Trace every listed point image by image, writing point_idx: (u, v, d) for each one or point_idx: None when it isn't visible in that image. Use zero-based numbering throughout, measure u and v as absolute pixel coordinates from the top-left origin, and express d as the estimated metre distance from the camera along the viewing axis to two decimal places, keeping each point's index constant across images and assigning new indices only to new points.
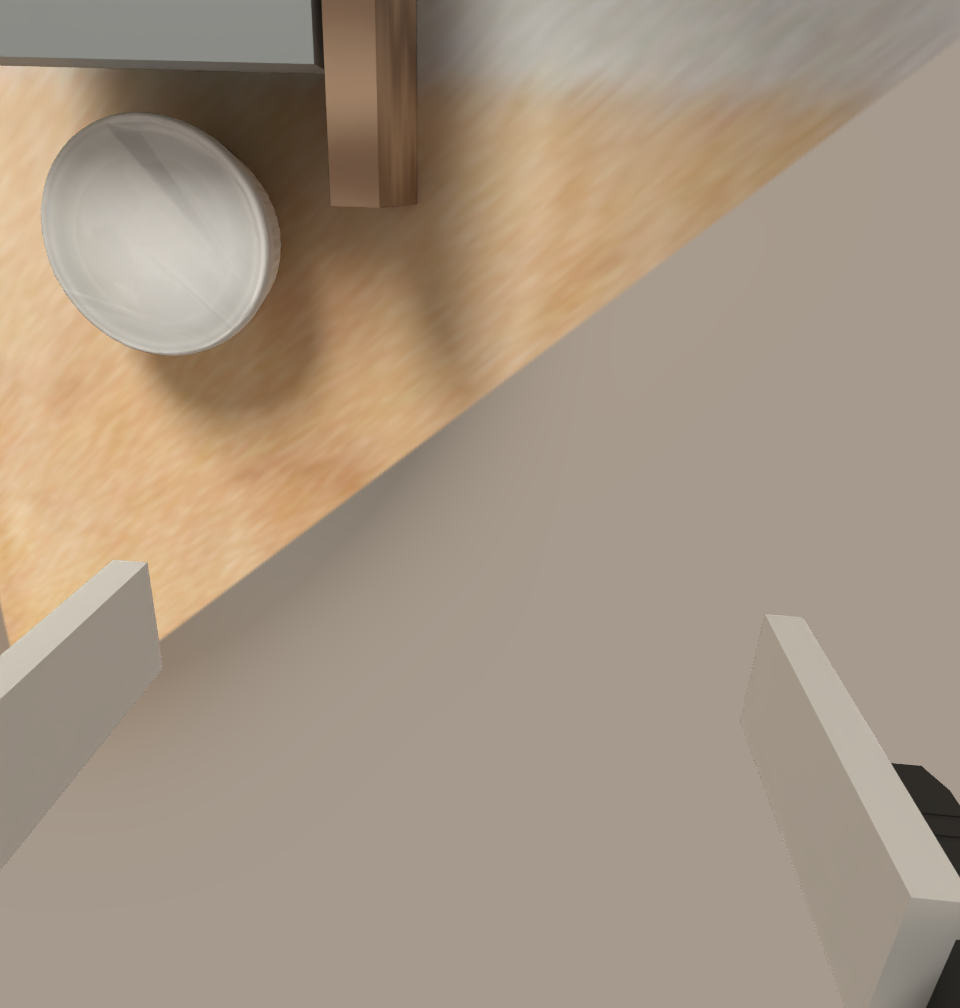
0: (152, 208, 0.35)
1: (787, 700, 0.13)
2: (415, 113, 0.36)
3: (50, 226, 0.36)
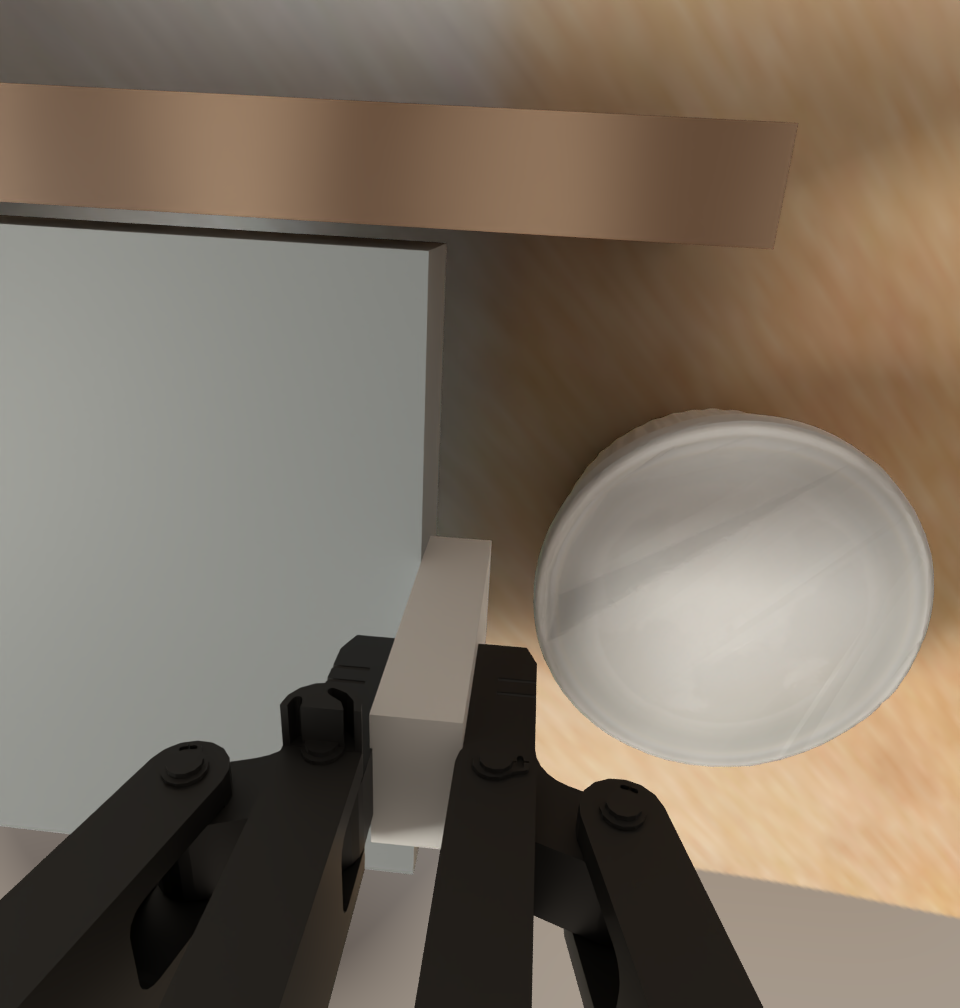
0: (676, 604, 0.21)
1: None
2: None
3: (682, 751, 0.23)
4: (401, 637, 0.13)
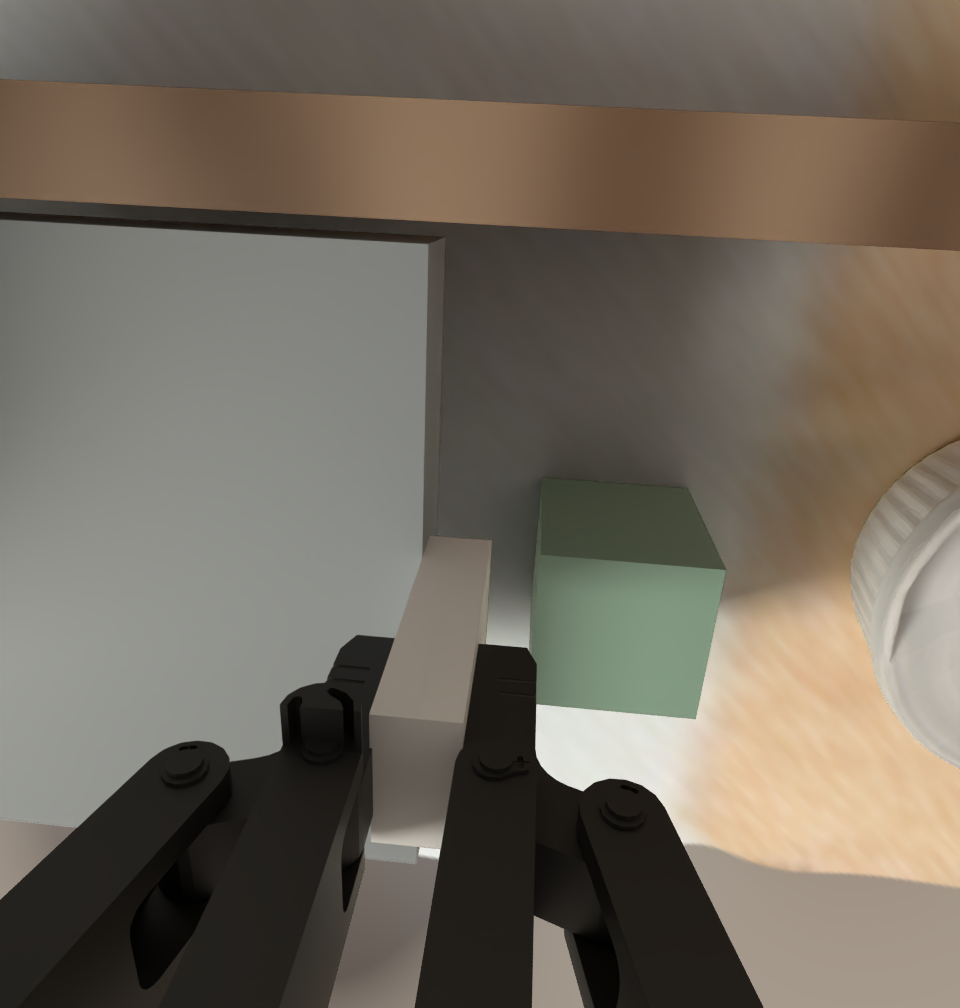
0: None
1: None
2: None
3: None
4: (401, 637, 0.13)
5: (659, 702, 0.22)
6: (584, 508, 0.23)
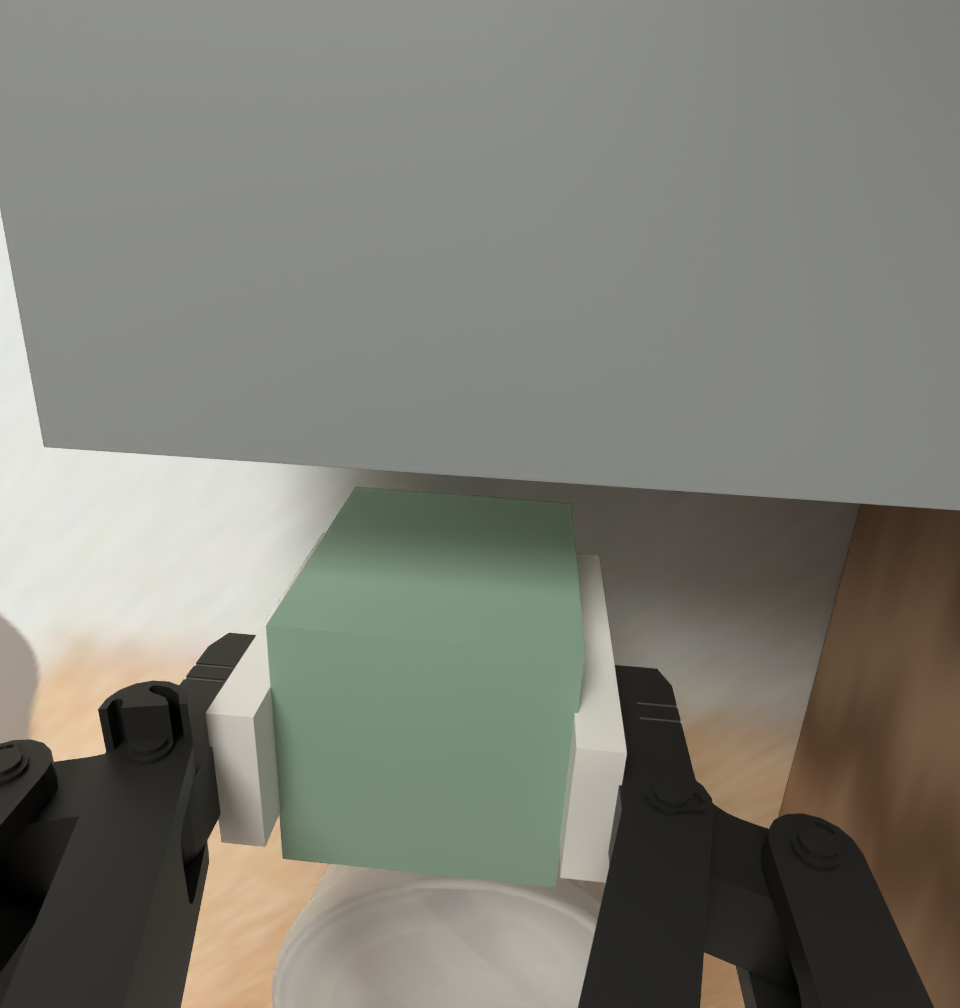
0: (466, 985, 0.21)
1: None
2: None
3: (288, 992, 0.22)
4: (262, 635, 0.13)
5: (305, 815, 0.13)
6: None
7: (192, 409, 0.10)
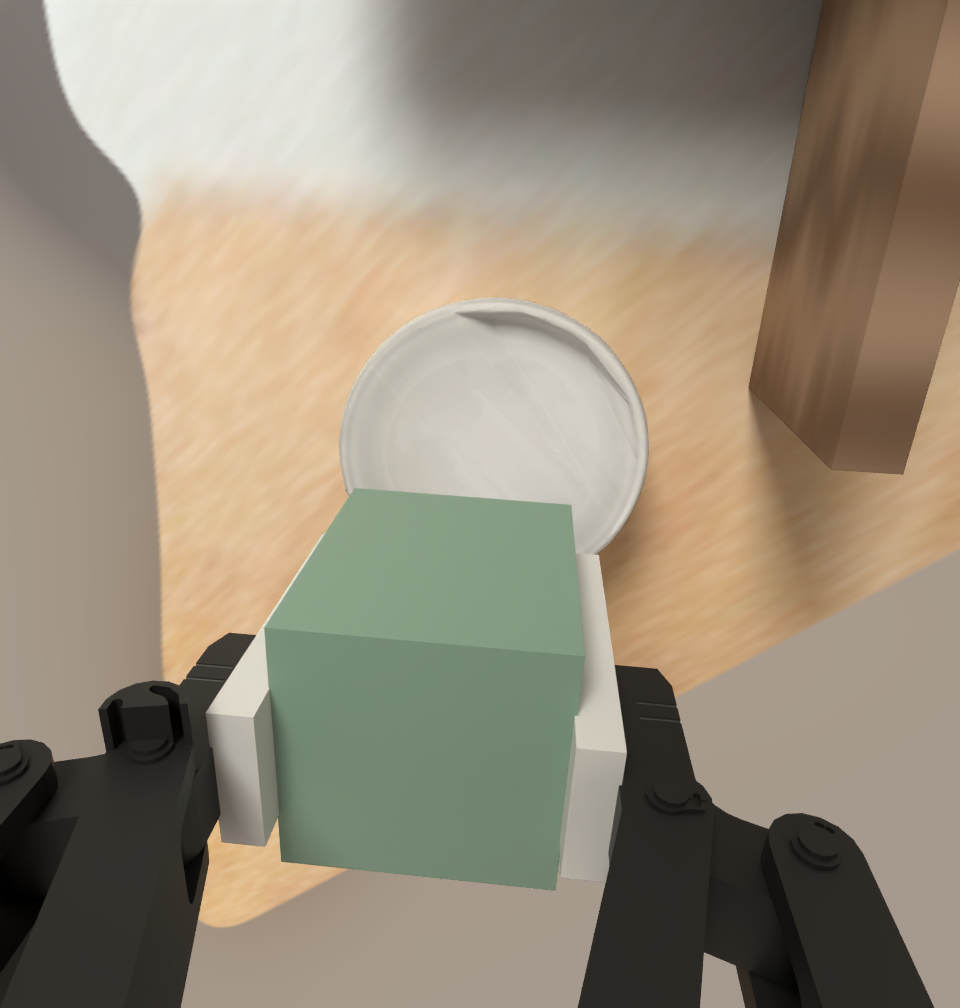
0: (498, 419, 0.26)
1: None
2: None
3: (353, 436, 0.27)
4: (262, 635, 0.13)
5: (303, 817, 0.13)
6: None
7: None
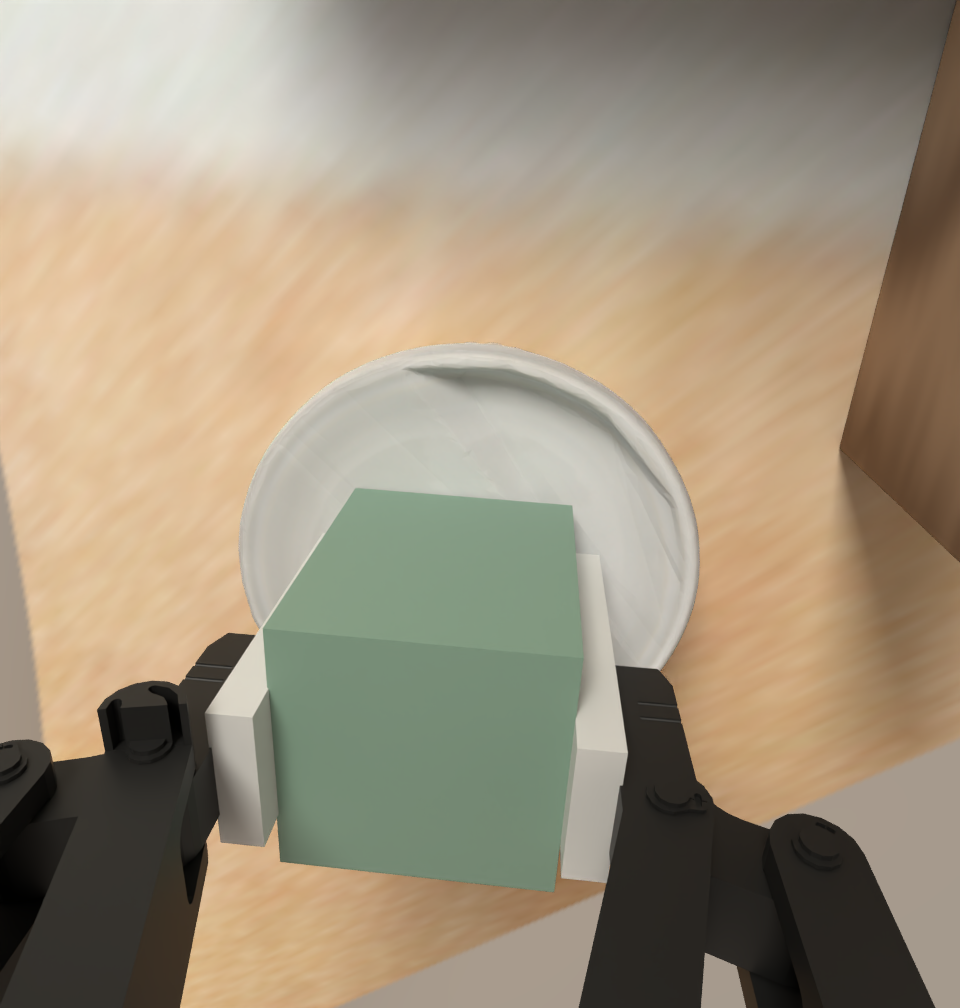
0: None
1: None
2: None
3: (258, 544, 0.18)
4: (261, 635, 0.13)
5: (302, 818, 0.13)
6: None
7: None
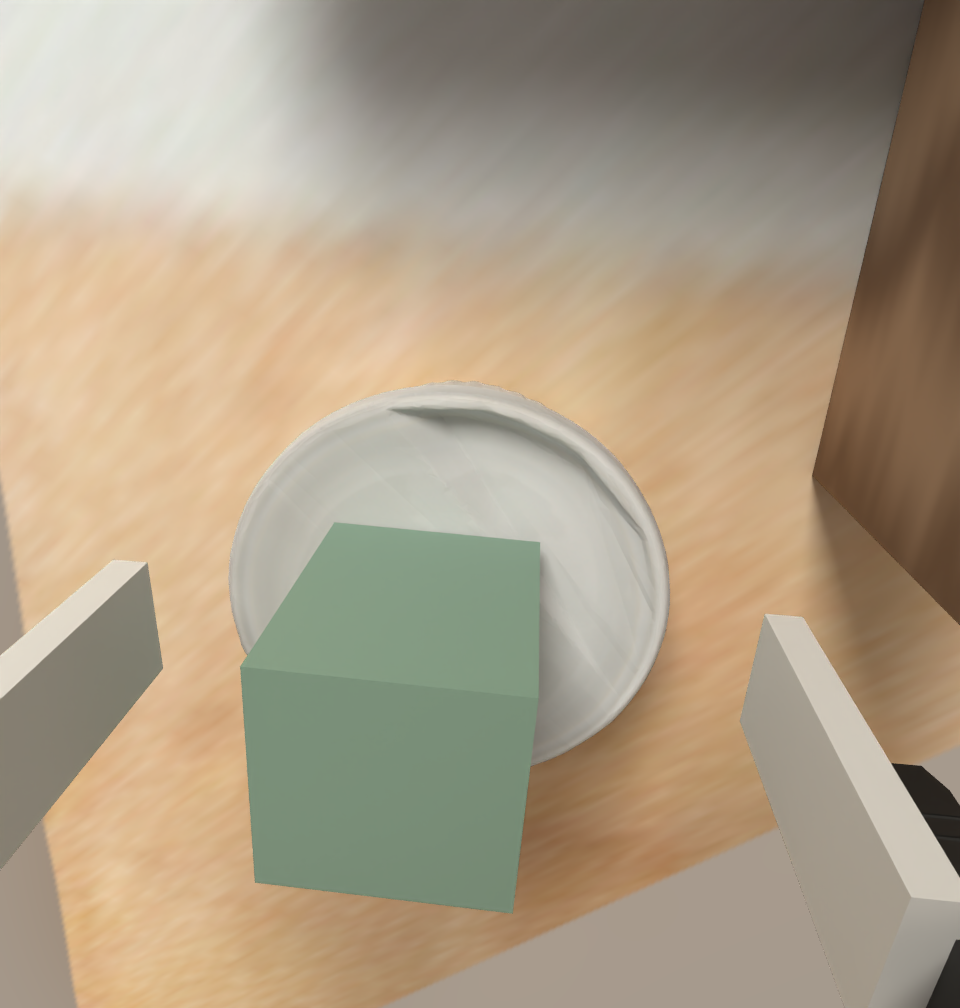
0: None
1: (787, 700, 0.13)
2: None
3: (247, 575, 0.19)
4: None
5: (276, 842, 0.14)
6: None
7: None
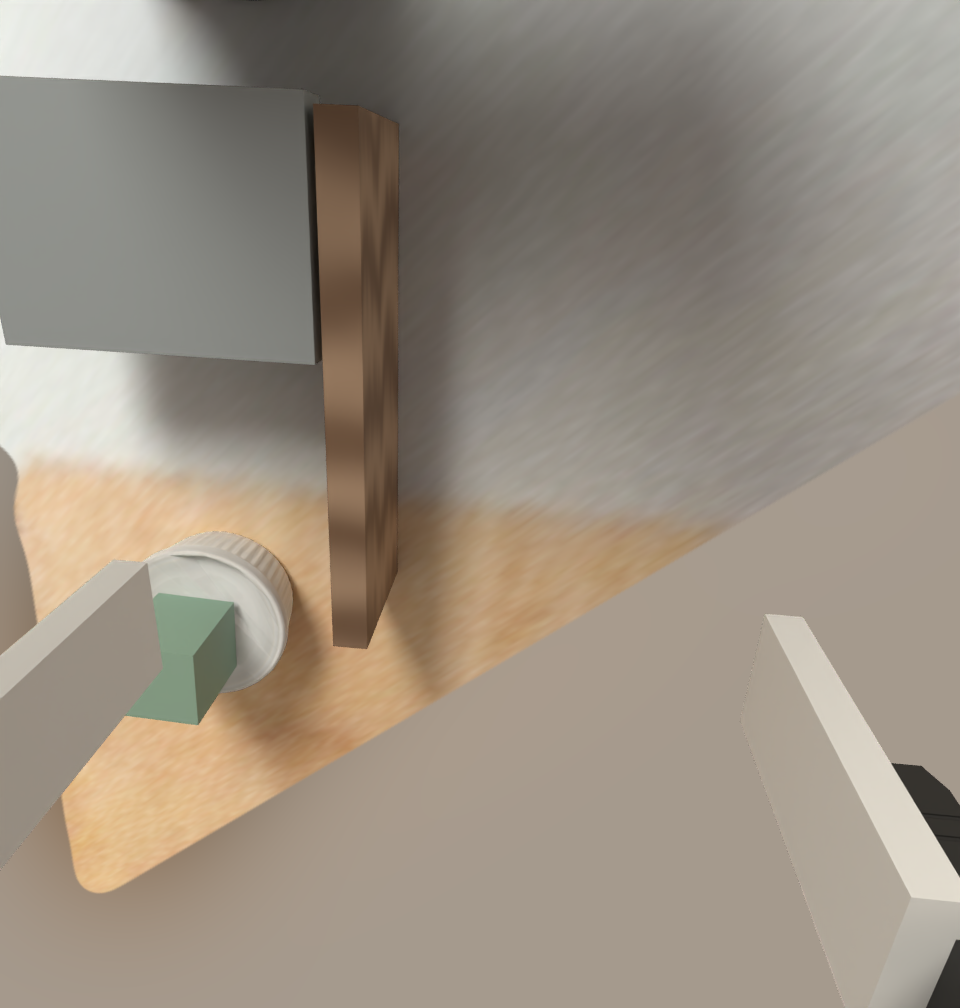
0: None
1: (787, 700, 0.13)
2: (396, 520, 0.50)
3: None
4: None
5: None
6: (218, 641, 0.46)
7: (46, 333, 0.37)
